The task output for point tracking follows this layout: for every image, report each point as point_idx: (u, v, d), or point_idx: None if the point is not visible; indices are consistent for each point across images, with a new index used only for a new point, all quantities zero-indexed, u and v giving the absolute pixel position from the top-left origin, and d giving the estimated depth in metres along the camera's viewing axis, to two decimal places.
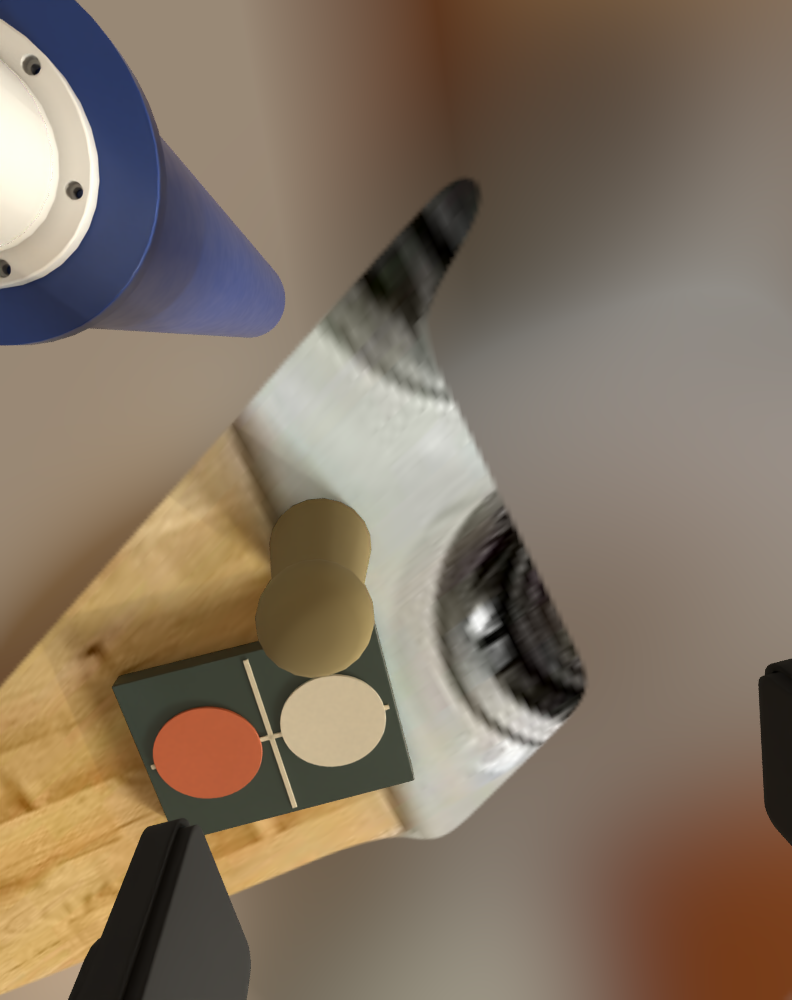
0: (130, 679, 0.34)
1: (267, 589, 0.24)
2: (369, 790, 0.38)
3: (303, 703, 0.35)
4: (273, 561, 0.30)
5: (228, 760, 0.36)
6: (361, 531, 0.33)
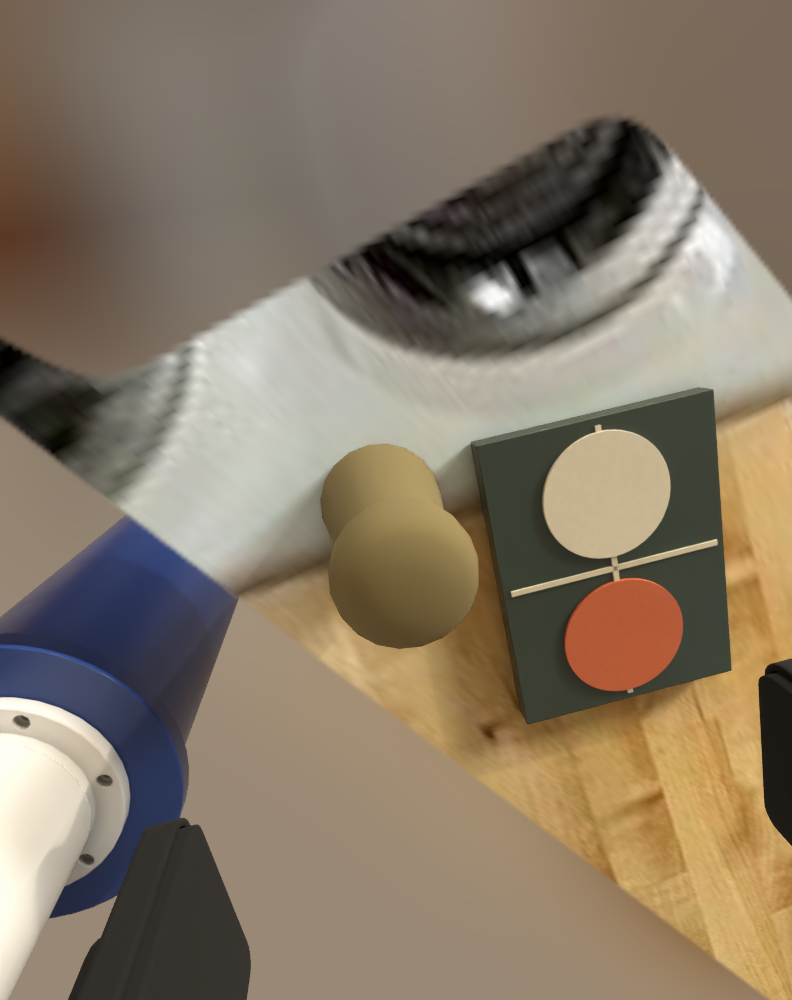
0: (522, 705, 0.32)
1: None
2: (715, 449, 0.29)
3: (576, 531, 0.29)
4: None
5: (636, 615, 0.30)
6: (352, 464, 0.26)
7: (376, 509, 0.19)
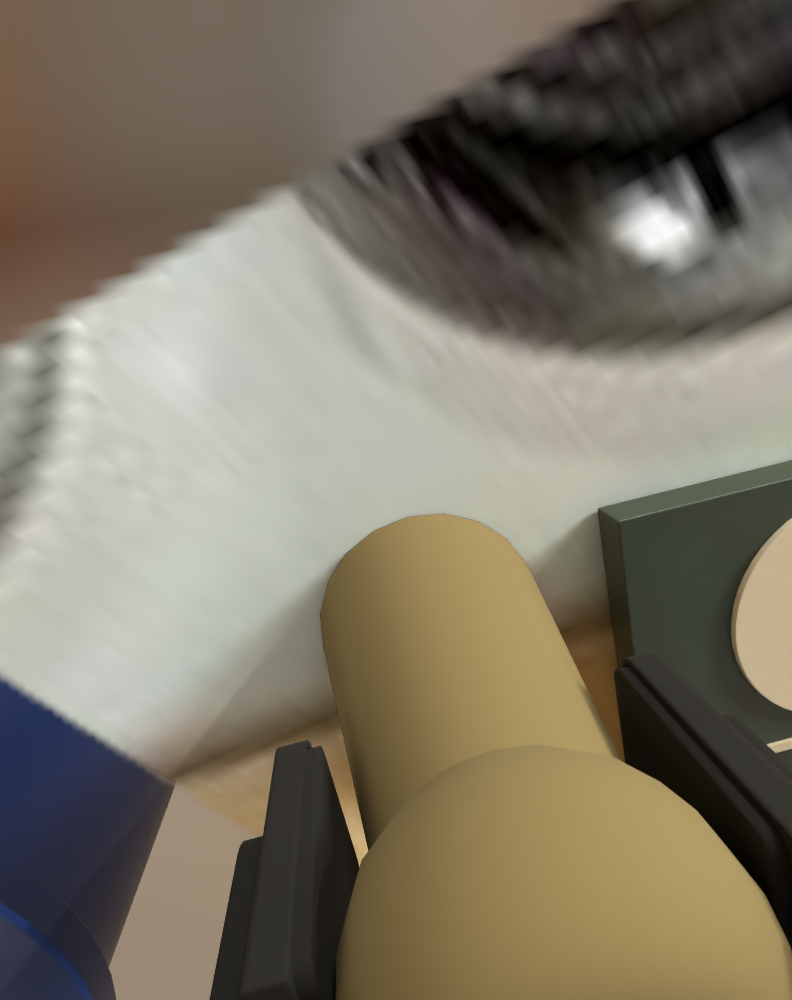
0: None
1: None
2: None
3: (789, 671, 0.16)
4: None
5: None
6: (381, 563, 0.13)
7: (490, 840, 0.06)
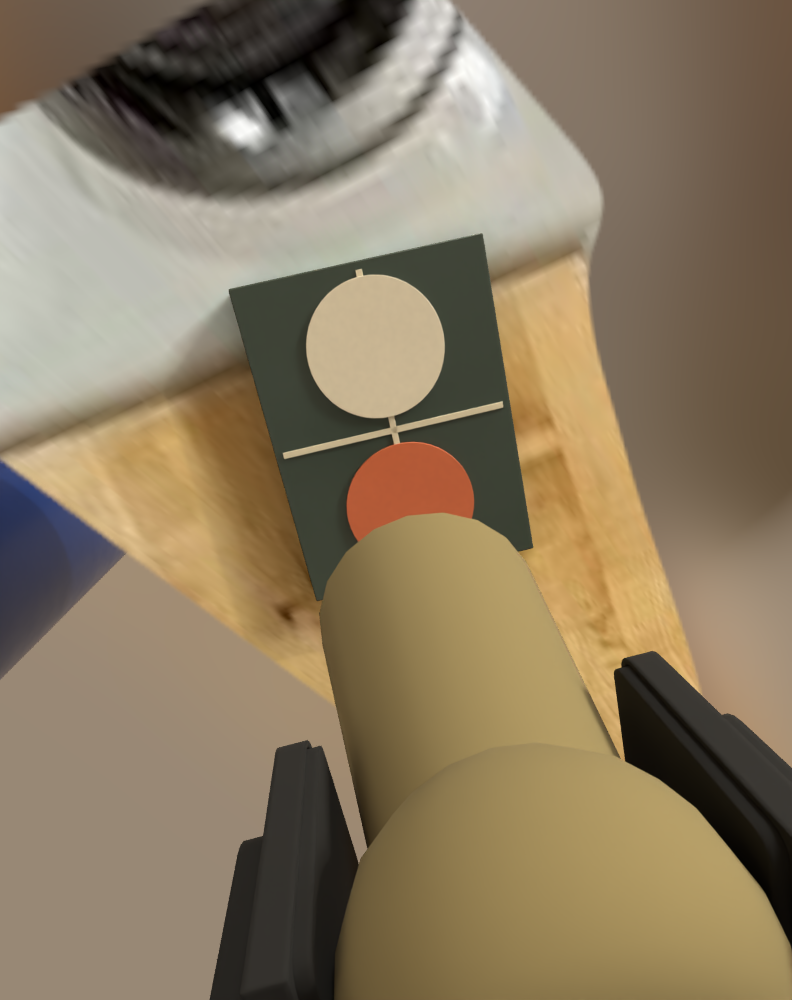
0: (311, 581, 0.31)
1: None
2: (490, 301, 0.27)
3: (345, 387, 0.28)
4: None
5: (421, 483, 0.29)
6: (381, 561, 0.13)
7: (489, 838, 0.06)
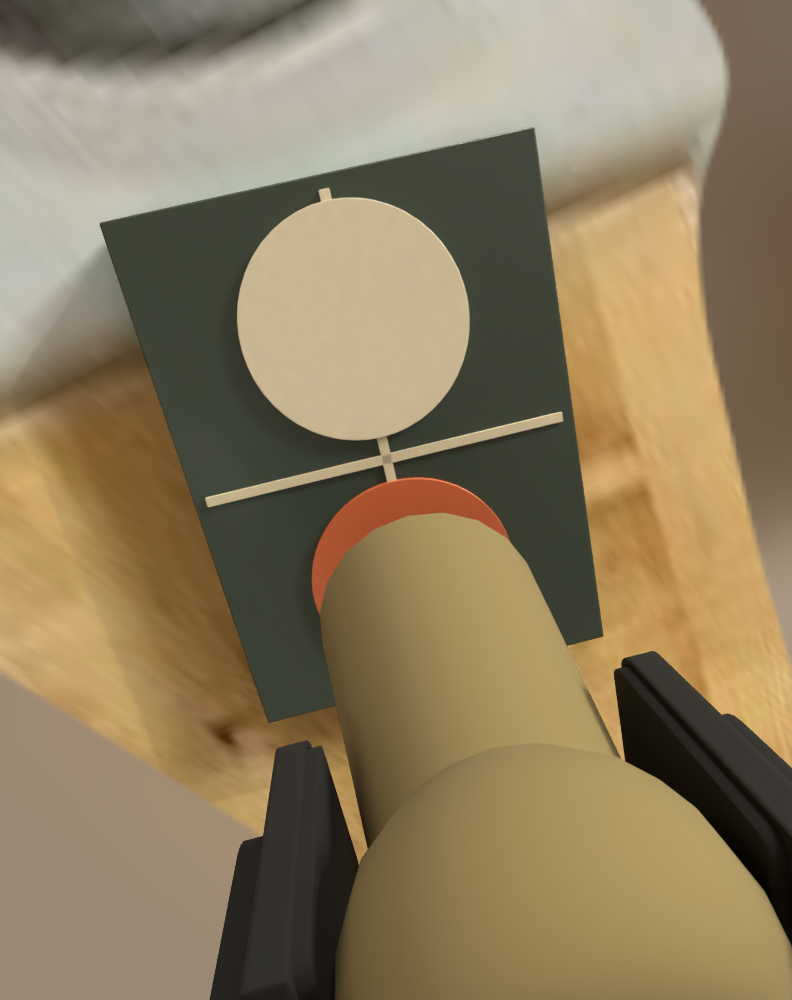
0: (260, 692, 0.20)
1: None
2: (546, 245, 0.16)
3: (305, 390, 0.17)
4: None
5: None
6: (381, 561, 0.13)
7: (490, 838, 0.06)
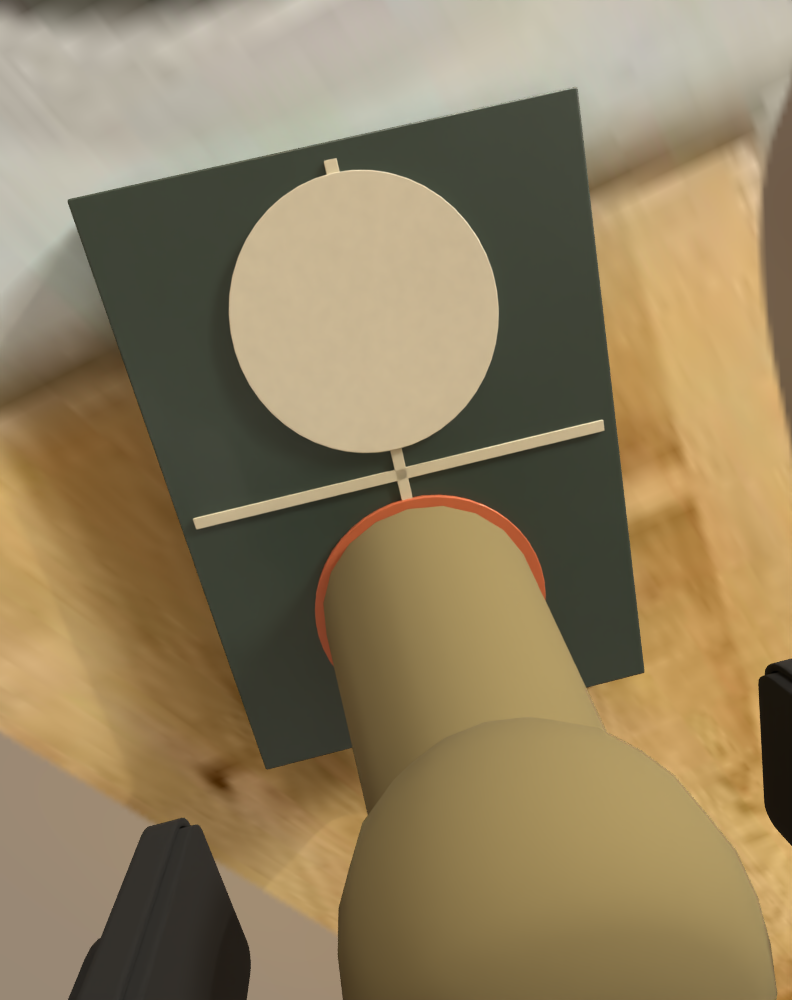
0: (257, 735, 0.17)
1: None
2: (588, 227, 0.14)
3: (308, 395, 0.14)
4: None
5: None
6: (382, 552, 0.14)
7: (480, 797, 0.06)
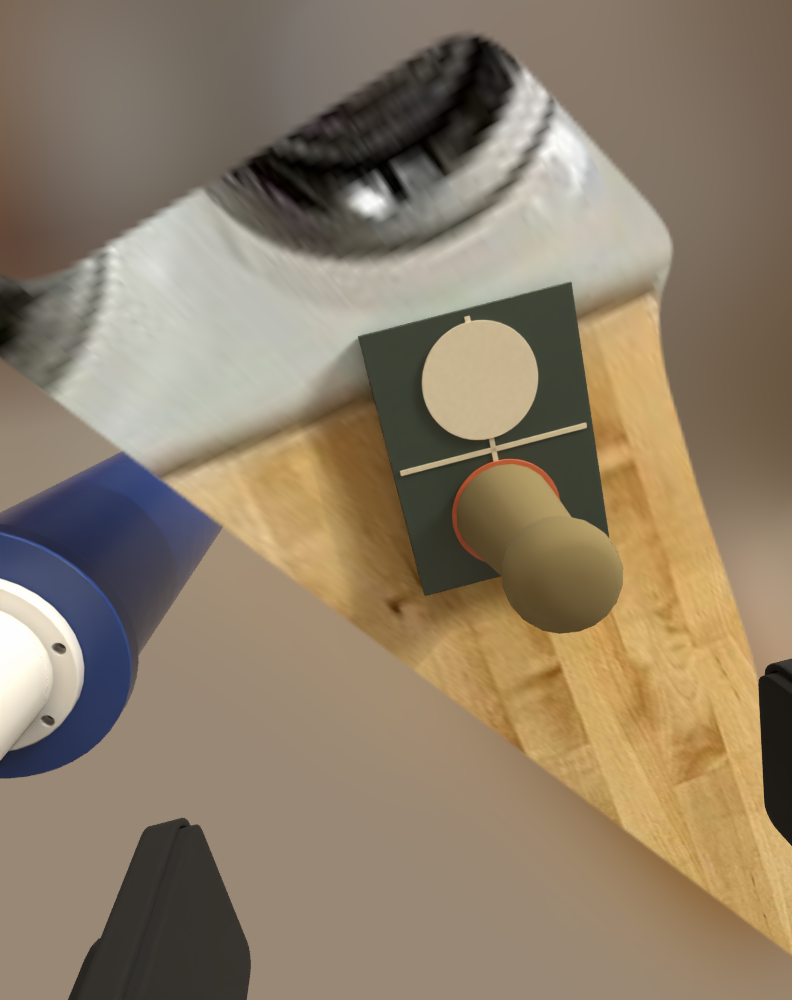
0: (420, 579, 0.36)
1: (526, 620, 0.26)
2: (577, 338, 0.32)
3: (454, 414, 0.33)
4: None
5: None
6: (489, 482, 0.32)
7: (544, 526, 0.25)
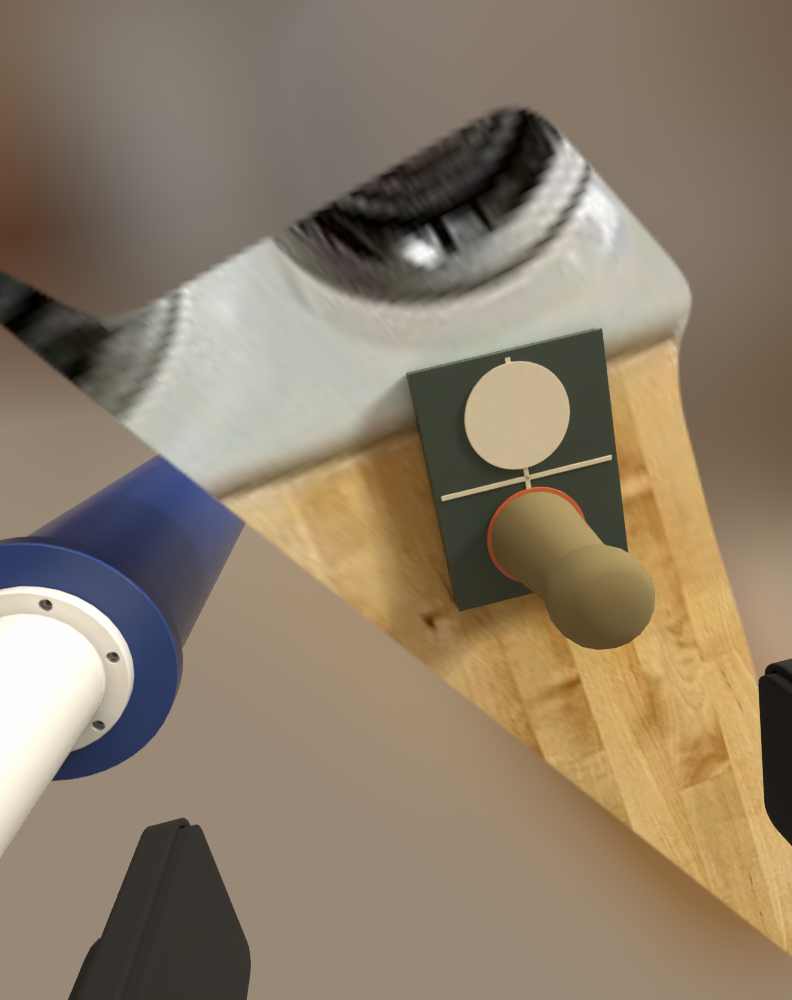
0: (455, 595, 0.38)
1: (567, 637, 0.28)
2: (606, 379, 0.35)
3: (492, 446, 0.35)
4: None
5: None
6: (525, 509, 0.35)
7: (586, 554, 0.28)
